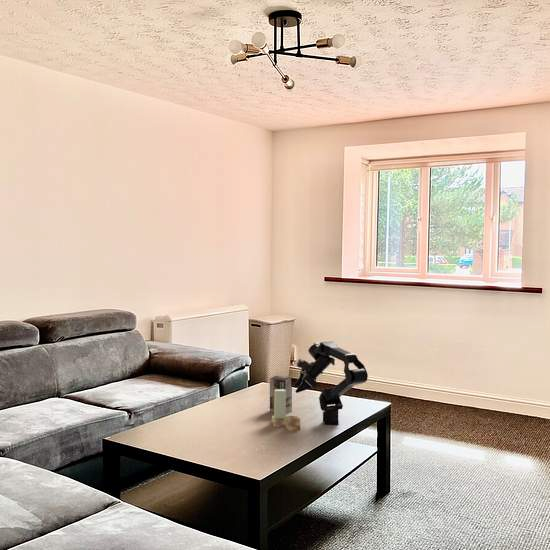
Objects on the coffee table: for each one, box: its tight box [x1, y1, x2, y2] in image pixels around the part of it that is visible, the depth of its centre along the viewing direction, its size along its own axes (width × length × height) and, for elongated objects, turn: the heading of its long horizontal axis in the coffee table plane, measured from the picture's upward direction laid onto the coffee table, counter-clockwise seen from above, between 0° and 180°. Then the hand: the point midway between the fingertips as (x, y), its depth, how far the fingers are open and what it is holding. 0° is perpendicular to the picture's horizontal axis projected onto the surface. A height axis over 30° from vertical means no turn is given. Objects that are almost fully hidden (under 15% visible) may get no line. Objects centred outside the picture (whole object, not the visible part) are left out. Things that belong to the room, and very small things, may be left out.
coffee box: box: [269, 375, 293, 414], centre depth 283 cm, size 9×6×16 cm
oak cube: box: [285, 415, 301, 431], centre depth 257 cm, size 5×5×5 cm
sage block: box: [273, 389, 287, 419], centre depth 264 cm, size 4×4×12 cm
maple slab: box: [271, 415, 286, 427], centre depth 264 cm, size 7×7×3 cm
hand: (295, 389), depth 270 cm, fingers open, 9 cm apart
